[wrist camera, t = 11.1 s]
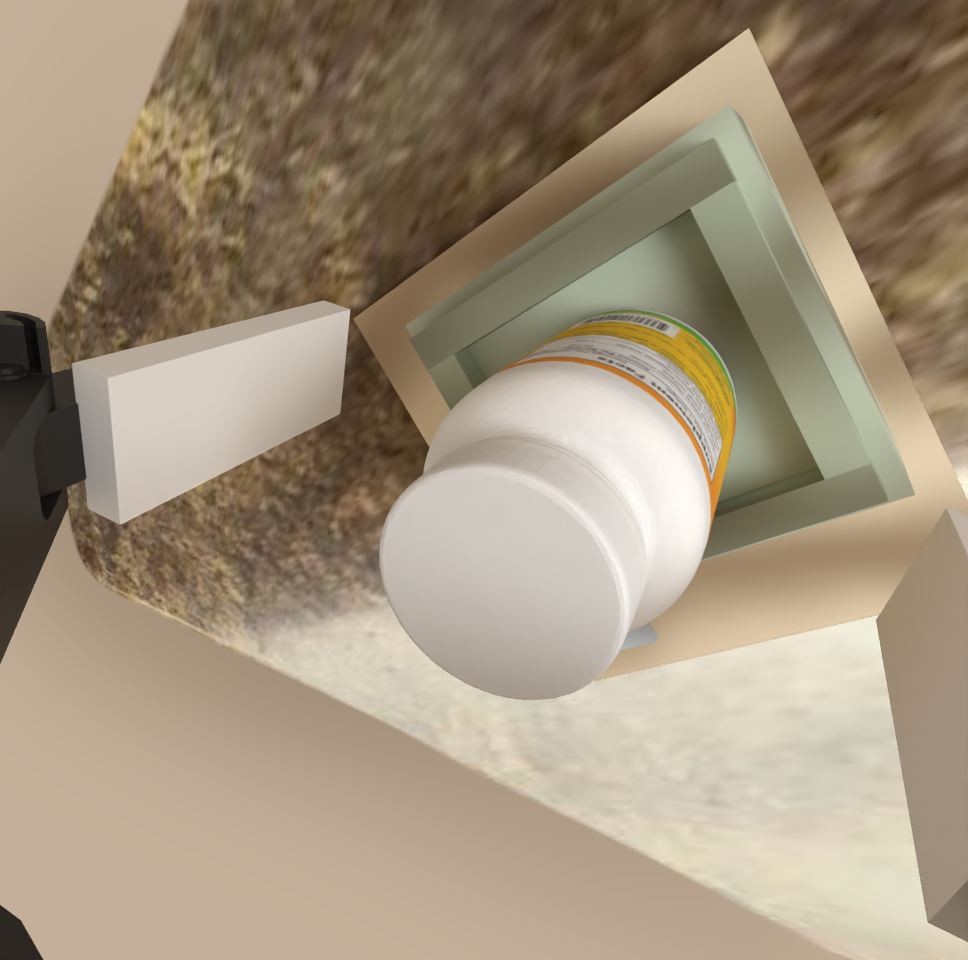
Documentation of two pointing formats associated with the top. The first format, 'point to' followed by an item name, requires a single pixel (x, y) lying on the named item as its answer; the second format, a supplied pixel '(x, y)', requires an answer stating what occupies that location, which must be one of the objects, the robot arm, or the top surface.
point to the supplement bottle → (563, 505)
